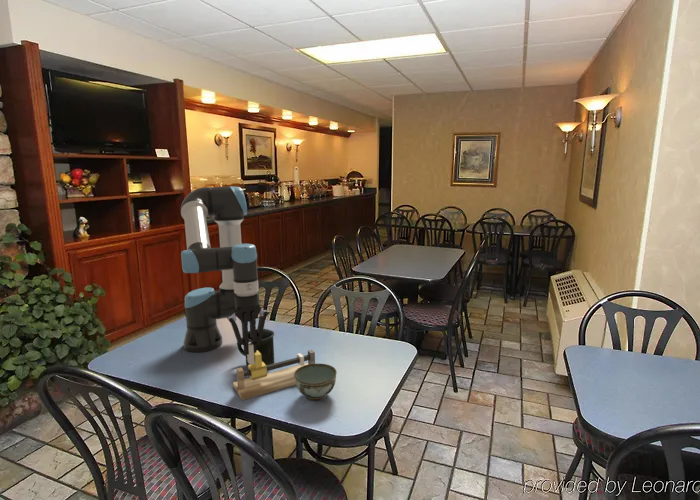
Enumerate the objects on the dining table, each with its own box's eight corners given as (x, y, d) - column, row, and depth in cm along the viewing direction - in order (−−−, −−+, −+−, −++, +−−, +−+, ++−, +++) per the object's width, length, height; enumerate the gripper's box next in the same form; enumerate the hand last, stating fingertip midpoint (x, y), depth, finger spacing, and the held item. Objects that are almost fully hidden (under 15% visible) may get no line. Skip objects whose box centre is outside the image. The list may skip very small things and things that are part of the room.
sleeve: (248, 375, 140) (247, 352, 138) (263, 371, 142) (261, 349, 141) (252, 380, 137) (250, 356, 135) (267, 376, 139) (265, 353, 137)
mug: (267, 373, 150) (265, 341, 148) (231, 368, 154) (229, 337, 152) (280, 359, 160) (279, 330, 158) (246, 355, 164) (244, 326, 162)
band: (297, 362, 148) (296, 353, 148) (300, 361, 149) (300, 353, 148) (301, 365, 145) (300, 357, 145) (304, 365, 146) (303, 356, 145)
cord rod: (242, 375, 137) (241, 371, 137) (308, 358, 149) (308, 354, 149) (243, 377, 136) (243, 373, 136) (310, 359, 148) (310, 355, 148)
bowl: (342, 403, 130) (341, 379, 128) (299, 410, 126) (298, 386, 125) (331, 382, 143) (330, 360, 141) (292, 388, 139) (291, 366, 138)
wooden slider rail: (233, 386, 141) (231, 364, 139) (309, 365, 155) (308, 345, 153) (242, 400, 132) (240, 376, 131) (321, 377, 146) (320, 355, 145)
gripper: (229, 299, 126) (234, 372, 131) (270, 292, 133) (273, 362, 137) (222, 293, 133) (227, 362, 137) (262, 287, 139) (266, 353, 144)
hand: (250, 362), depth 137 cm, fingers closed
